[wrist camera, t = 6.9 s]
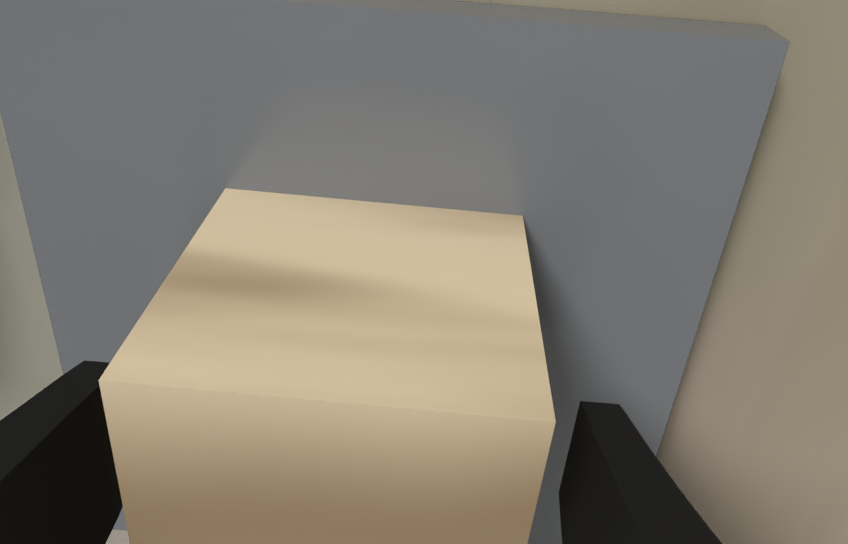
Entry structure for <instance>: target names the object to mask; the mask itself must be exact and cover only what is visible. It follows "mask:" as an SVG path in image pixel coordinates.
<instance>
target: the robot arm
mask: <svg viewBox="0 0 848 544" xmlns="http://www.w3.org/2000/svg"><path fill="white" fill-rule="evenodd" d="M109 364H110V363H109V362H97V361H83V362H81V363H80V364H78V365H77V366H75V367H74V368H72V369H71V370H70V371H68V372H67V373H65V374H64V375H62V376H61V377H60V378H58V379H57V380H56V381H54V382H53V383H51V384H50V385H49V386H47V387H46V388H45V389H43V390H42V391H41V392H39V393H38V394H36V395H35V396H34V397H32V398H31V399H30V400H28V401H27V402H26V403H24V404H23V405H21V406H20V407H19V408H17V409H16V410H15V411H13V412H12V413H10V414H9V415H8V416H6V417H5V418H3V419H2V420H1V421H0V544H105V543H106V541H107V539H108V537H109V535H110V533H111V531H112V529H113V527H114V525H115V523H116V521H117V519H118V517H119V514H120V512H121V509H122V507H123V505H122V499H121V494H120V489H119V484H118V479H117V474H116V468H115V463H114V458H113V453H112V448H111V443H110V437H109V432H108V427H107V422H106V417H105V412H104V406H103V401H102V396H101V391H100V386H99V381H98V380H99V379H100V377H101V376H102V374H103V373H104V371H105V370H106V368H107V367H108V365H109ZM559 505H560V521H561V534H562V544H722V543H721V542H720V540H719V539H718V538H717V537H716V536H715V534H714V533H713V532H712V531H711V529H710V528H709V527H708V526H707V524H706V523H705V522H704V521H703V519H702V518H701V517H700V515H699V514H698V513H697V511H696V510H695V509H694V507H693V506H692V505H691V504H690V502H689V501H688V500H687V498H686V497H685V496H684V494H683V493H682V492H681V490H680V489H679V488H678V487H677V485H676V484H675V482H674V481H673V480H672V478H671V477H670V476H669V474H668V473H667V471H666V470H665V469H664V467H663V466H662V464H661V463H660V462H659V460H658V459H657V457H656V456H655V455H654V453H653V452H652V450H651V449H650V447H649V446H648V444H647V443H646V442H645V440H644V439H643V437H642V436H641V434H640V433H639V431H638V430H637V428H636V427H635V425H634V424H633V422H632V421H631V420H630V418H629V417H628V415H627V414H626V412H625V411H624V409H623V408H622V407H621V406H620V405H619V404H612V403H599V402H587V401H580V404H579V408H578V412H577V417H576V421H575V425H574V429H573V434H572V438H571V442H570V446H569V451H568V455H567V459H566V463H565V468H564V472H563V476H562V480H561V485H560V489H559Z"/></svg>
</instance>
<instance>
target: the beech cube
mask: <svg viewBox="0 0 848 544" xmlns="http://www.w3.org/2000/svg"><path fill="white" fill-rule="evenodd" d="M98 381H99V386H100V391H101V396H102V401H103V406H104V412H105V417H106V422H107V427H108V432H109V437H110V443H111V448H112V453H113V458H114V463H115V468H116V474H117V479H118V484H119V489H120V494H121V499H122V505H123V510H124V515H125V520H126V525H127V530H128V536H129V541H130V544H527V543H528V539H529V534H530V530H531V526H532V522H533V517H534V513H535V509H536V504H537V500H538V496H539V492H540V487H541V483H542V479H543V475H544V470H545V466H546V462H547V458H548V453H549V449H550V445H551V440H552V436H553V432H554V428H555V423H556V420H555V414H554V408H553V402H552V395H551V389H550V383H549V377H548V370H547V364H546V358H545V352H544V345H543V339H542V333H541V327H540V321H539V314H538V308H537V302H536V296H535V289H534V283H533V277H532V271H531V264H530V258H529V252H528V246H527V239H526V233H525V227H524V221H523V216H519V215H509V214H498V213H487V212H476V211H465V210H455V209H444V208H433V207H422V206H411V205H401V204H390V203H379V202H368V201H358V200H347V199H336V198H325V197H314V196H304V195H293V194H282V193H271V192H260V191H250V190H239V189H228V188H225V190H224V191H223V193H222V194H221V196H220V197H219V199H218V200H217V202H216V203H215V205H214V206H213V208H212V209H211V211H210V212H209V214H208V215H207V217H206V218H205V220H204V221H203V223H202V225H201V226H200V228H199V229H198V231H197V232H196V234H195V235H194V237H193V238H192V240H191V241H190V243H189V244H188V246H187V247H186V249H185V250H184V252H183V253H182V255H181V256H180V258H179V259H178V261H177V262H176V264H175V265H174V267H173V268H172V270H171V271H170V273H169V274H168V276H167V277H166V279H165V280H164V282H163V283H162V285H161V287H160V288H159V290H158V291H157V293H156V294H155V296H154V297H153V299H152V300H151V302H150V303H149V305H148V306H147V308H146V309H145V311H144V312H143V314H142V315H141V317H140V318H139V320H138V321H137V323H136V324H135V326H134V327H133V329H132V330H131V332H130V333H129V335H128V336H127V338H126V339H125V341H124V342H123V344H122V345H121V347H120V349H119V350H118V352H117V353H116V355H115V356H114V358H113V359H112V361H111V362H110V364H109V365H108V367H107V368H106V370H105V371H104V373H103V374H102V376H101V377H100V379H99V380H98Z"/></svg>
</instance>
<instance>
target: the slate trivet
mask: <svg viewBox="0 0 848 544" xmlns="http://www.w3.org/2000/svg"><path fill="white" fill-rule="evenodd" d="M789 43H790V41H789V40H787V39H786V38H784V37H782V36H781V35H779V34H778V33H776V32H775V31H773V30H771V29H770V28H768V27H767V26H762V25H750V24H737V23H725V22H713V21H700V20H688V19H675V18H663V17H650V16H638V15H626V14H613V13H601V12H588V11H576V10H564V9H551V8H539V7H526V6H514V5H501V4H489V3H477V2H464V1H452V0H0V112H1V116H2V120H3V124H4V128H5V132H6V137H7V141H8V145H9V149H10V153H11V157H12V161H13V166H14V170H15V174H16V178H17V182H18V186H19V191H20V195H21V199H22V203H23V207H24V211H25V216H26V220H27V224H28V228H29V232H30V236H31V241H32V245H33V249H34V253H35V257H36V261H37V266H38V270H39V274H40V278H41V282H42V286H43V290H44V295H45V299H46V303H47V307H48V311H49V315H50V320H51V324H52V328H53V332H54V336H55V340H56V345H57V349H58V353H59V357H60V361H61V365H62V370H63V374H65V373H67V372H68V371H70V370H71V369H72V368H74V367H75V366H77V365H78V364H80V363H81V362H83V361H97V362H109V363H110V362H111V361H112V359H113V358H114V356H115V355H116V353H117V352H118V350H119V349H120V347H121V345H122V344H123V342H124V341H125V339H126V338H127V336H128V335H129V333H130V332H131V330H132V329H133V327H134V326H135V324H136V323H137V321H138V320H139V318H140V317H141V315H142V314H143V312H144V311H145V309H146V308H147V306H148V305H149V303H150V302H151V300H152V299H153V297H154V296H155V294H156V293H157V291H158V290H159V288H160V287H161V285H162V283H163V282H164V280H165V279H166V277H167V276H168V274H169V273H170V271H171V270H172V268H173V267H174V265H175V264H176V262H177V261H178V259H179V258H180V256H181V255H182V253H183V252H184V250H185V249H186V247H187V246H188V244H189V243H190V241H191V240H192V238H193V237H194V235H195V234H196V232H197V231H198V229H199V228H200V226H201V225H202V223H203V221H204V220H205V218H206V217H207V215H208V214H209V212H210V211H211V209H212V208H213V206H214V205H215V203H216V202H217V200H218V199H219V197H220V196H221V194H222V193H223V191H224V190H225V188H228V189H239V190H250V191H260V192H271V193H282V194H293V195H304V196H314V197H325V198H336V199H347V200H358V201H368V202H379V203H390V204H401V205H411V206H422V207H433V208H444V209H455V210H465V211H476V212H487V213H498V214H509V215H519V216H523V221H524V227H525V233H526V239H527V246H528V252H529V258H530V264H531V271H532V277H533V283H534V289H535V296H536V302H537V308H538V314H539V321H540V327H541V333H542V339H543V345H544V352H545V358H546V364H547V370H548V377H549V383H550V389H551V395H552V402H553V408H554V414H555V420H556V423H555V428H554V432H553V436H552V440H551V445H550V449H549V453H548V458H547V462H546V466H545V470H544V475H543V479H542V483H541V487H540V492H539V496H538V500H537V504H536V509H535V513H534V517H533V522H532V526H531V530H530V534H529V539H528V543H527V544H562V534H561V521H560V505H559V489H560V485H561V480H562V476H563V472H564V468H565V463H566V459H567V455H568V451H569V446H570V442H571V438H572V434H573V429H574V425H575V421H576V417H577V412H578V408H579V404H580V401H587V402H599V403H612V404H619V405H620V406H621V407H622V408H623V409H624V411H625V412H626V414H627V415H628V417H629V418H630V420H631V421H632V422H633V424H634V425H635V427H636V428H637V430H638V431H639V433H640V434H641V436H642V437H643V439H644V440H645V442H646V443H647V444H648V446H649V447H650V449H651V450H652V452H653V453H654V455H655V456H656V455H657V452H658V449H659V446H660V443H661V440H662V437H663V434H664V431H665V427H666V424H667V421H668V418H669V415H670V412H671V409H672V406H673V403H674V400H675V397H676V393H677V390H678V387H679V384H680V381H681V378H682V375H683V372H684V369H685V366H686V362H687V359H688V356H689V353H690V350H691V347H692V344H693V341H694V338H695V335H696V331H697V328H698V325H699V322H700V319H701V316H702V313H703V310H704V307H705V304H706V300H707V297H708V294H709V291H710V288H711V285H712V282H713V279H714V276H715V273H716V270H717V266H718V263H719V260H720V257H721V254H722V251H723V248H724V245H725V242H726V239H727V235H728V232H729V229H730V226H731V223H732V220H733V217H734V214H735V211H736V208H737V204H738V201H739V198H740V195H741V192H742V189H743V186H744V183H745V180H746V177H747V174H748V170H749V167H750V164H751V161H752V158H753V155H754V152H755V149H756V146H757V143H758V139H759V136H760V133H761V130H762V127H763V124H764V121H765V118H766V115H767V112H768V108H769V105H770V102H771V99H772V96H773V93H774V90H775V87H776V84H777V81H778V78H779V74H780V71H781V68H782V65H783V62H784V59H785V56H786V53H787V50H788V47H789ZM113 529H117V530H127V525H126V520H125V515H124V510H123V507H122V509H121V512H120V514H119V517H118V519H117V521H116V523H115V525H114V527H113Z"/></svg>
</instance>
